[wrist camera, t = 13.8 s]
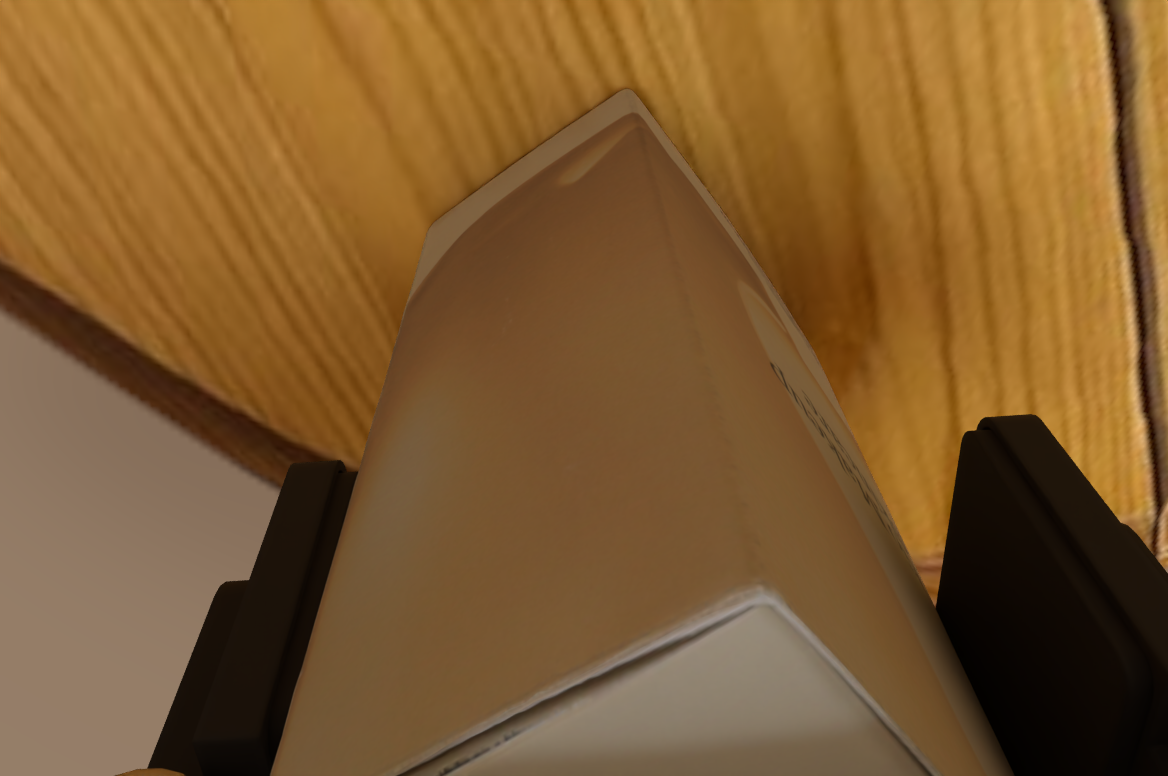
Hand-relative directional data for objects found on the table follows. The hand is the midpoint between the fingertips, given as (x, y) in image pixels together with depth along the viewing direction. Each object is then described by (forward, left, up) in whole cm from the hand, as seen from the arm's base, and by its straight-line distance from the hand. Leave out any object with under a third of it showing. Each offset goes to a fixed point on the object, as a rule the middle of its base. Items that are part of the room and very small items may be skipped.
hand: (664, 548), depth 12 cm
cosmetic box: (0, 0, -7) cm, 7 cm away
